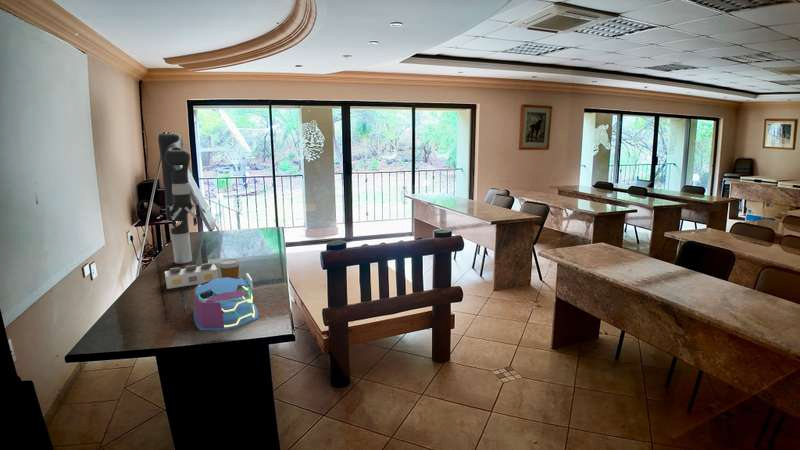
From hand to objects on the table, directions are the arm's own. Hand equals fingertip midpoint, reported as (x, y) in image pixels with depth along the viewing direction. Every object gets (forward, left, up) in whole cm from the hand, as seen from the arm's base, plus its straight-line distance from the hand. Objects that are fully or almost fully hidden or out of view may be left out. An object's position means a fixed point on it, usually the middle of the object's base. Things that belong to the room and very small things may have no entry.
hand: (185, 226), depth 210 cm
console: (-3, +1, -29) cm, 29 cm away
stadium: (+47, +9, -30) cm, 56 cm away
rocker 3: (-3, +8, -21) cm, 23 cm away
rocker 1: (-3, -6, -21) cm, 23 cm away
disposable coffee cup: (+12, +17, -29) cm, 36 cm away
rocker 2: (-3, +1, -21) cm, 22 cm away
